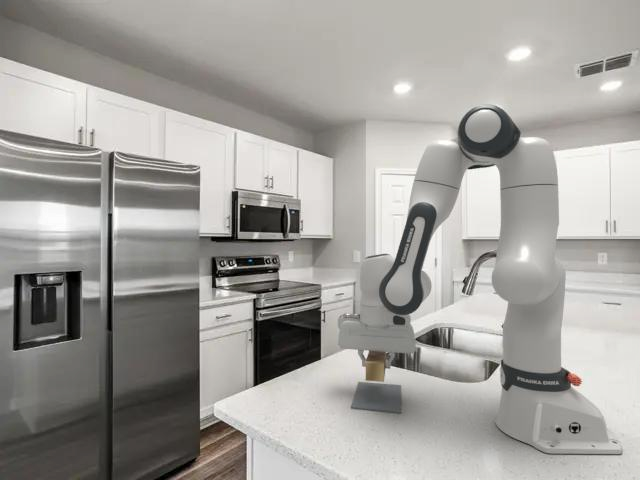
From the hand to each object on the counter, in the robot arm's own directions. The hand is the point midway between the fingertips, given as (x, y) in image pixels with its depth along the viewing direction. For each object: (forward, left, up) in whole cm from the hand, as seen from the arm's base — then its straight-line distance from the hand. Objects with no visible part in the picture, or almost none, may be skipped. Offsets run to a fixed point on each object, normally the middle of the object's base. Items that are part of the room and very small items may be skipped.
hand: (376, 366), depth 95 cm
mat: (0, 0, -8) cm, 8 cm away
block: (0, -6, +1) cm, 6 cm away
